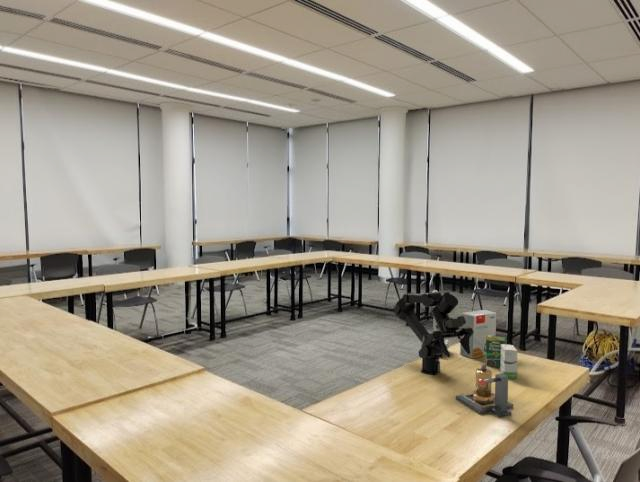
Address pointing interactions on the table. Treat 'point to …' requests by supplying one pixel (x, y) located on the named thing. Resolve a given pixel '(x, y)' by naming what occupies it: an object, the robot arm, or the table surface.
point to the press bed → (500, 398)
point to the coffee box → (494, 350)
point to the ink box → (508, 361)
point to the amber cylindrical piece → (483, 387)
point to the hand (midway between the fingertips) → (459, 355)
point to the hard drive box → (479, 331)
